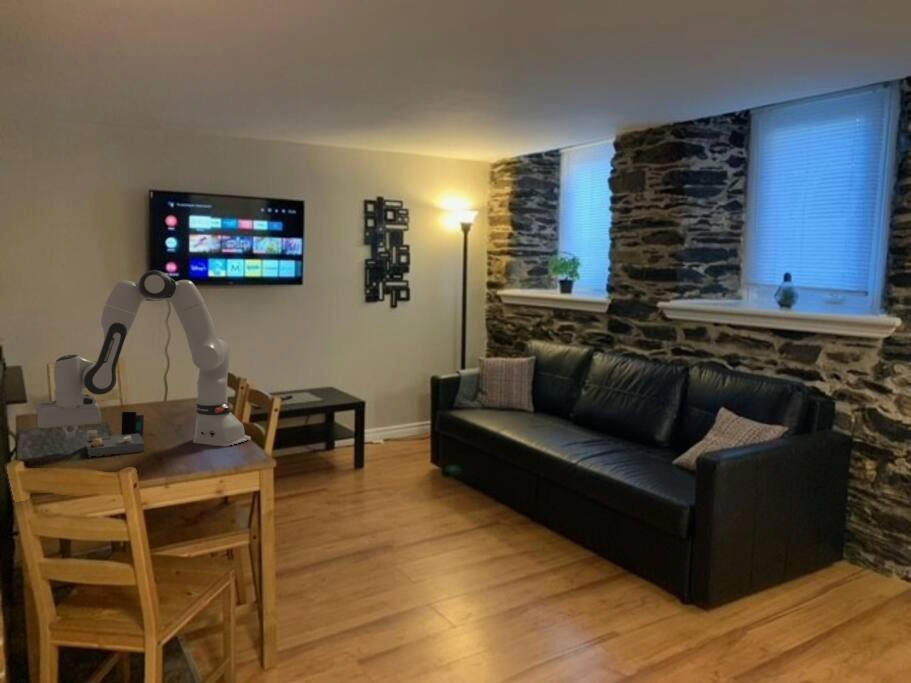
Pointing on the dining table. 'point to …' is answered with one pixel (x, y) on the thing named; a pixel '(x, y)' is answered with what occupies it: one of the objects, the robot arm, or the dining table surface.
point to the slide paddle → (92, 435)
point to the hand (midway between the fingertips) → (70, 437)
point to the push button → (97, 442)
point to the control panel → (116, 445)
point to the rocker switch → (124, 439)
